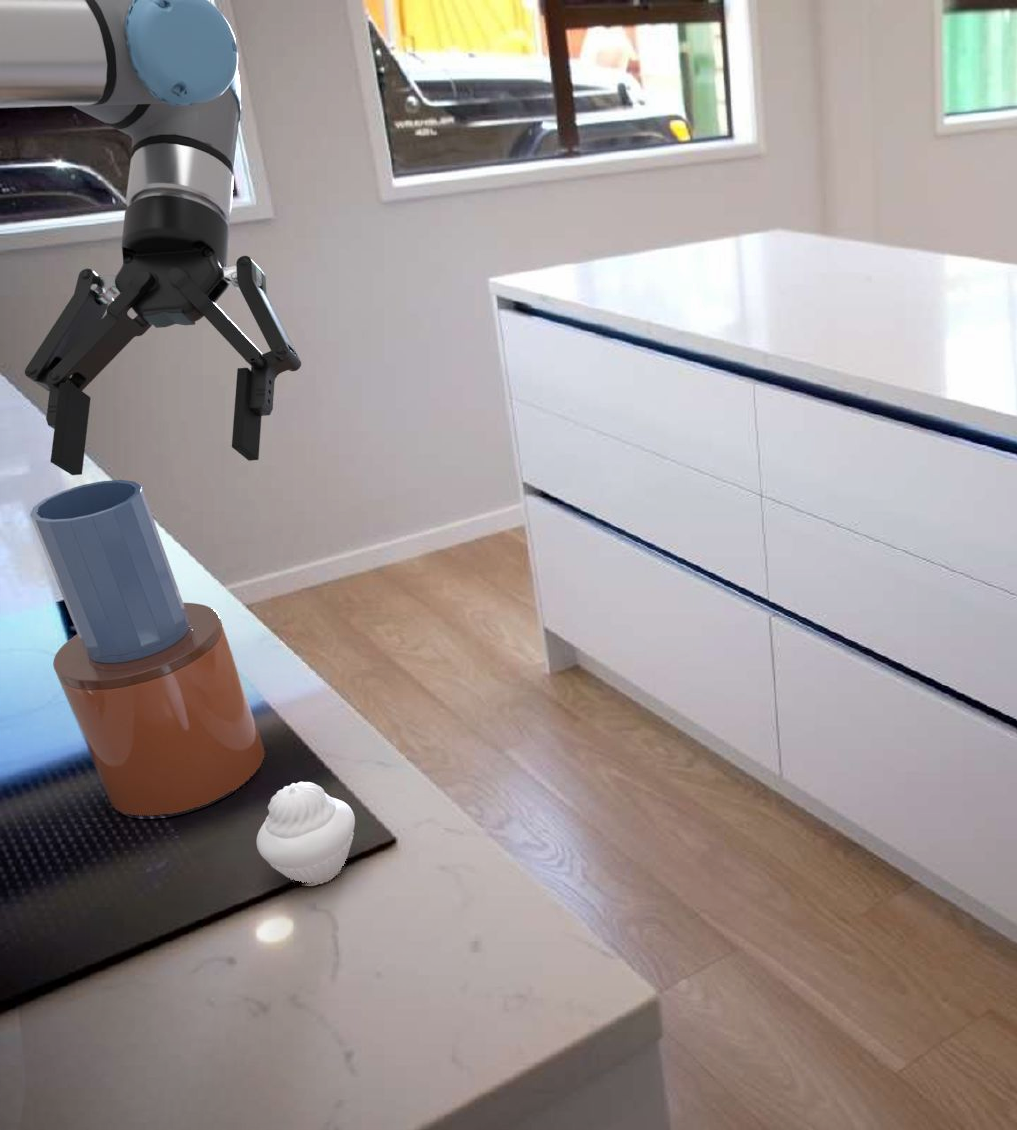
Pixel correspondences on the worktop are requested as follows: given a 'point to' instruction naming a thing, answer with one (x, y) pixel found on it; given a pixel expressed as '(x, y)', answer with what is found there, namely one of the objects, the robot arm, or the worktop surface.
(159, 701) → the canister
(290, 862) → the muffin
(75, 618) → the cup
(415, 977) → the worktop surface
